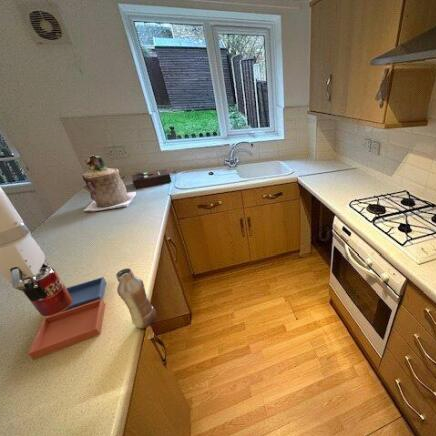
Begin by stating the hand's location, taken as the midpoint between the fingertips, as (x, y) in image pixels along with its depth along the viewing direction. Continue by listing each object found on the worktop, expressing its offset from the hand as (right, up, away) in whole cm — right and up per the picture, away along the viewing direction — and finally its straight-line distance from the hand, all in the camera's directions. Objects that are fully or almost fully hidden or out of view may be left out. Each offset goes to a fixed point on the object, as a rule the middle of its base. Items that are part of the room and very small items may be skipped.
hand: (44, 288), depth 65 cm
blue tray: (-6, -9, +19) cm, 22 cm away
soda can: (0, -6, +4) cm, 7 cm away
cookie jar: (-50, +29, +92) cm, 109 cm away
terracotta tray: (+1, -15, +8) cm, 17 cm away
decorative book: (-43, +48, +125) cm, 141 cm away
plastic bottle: (+22, -13, +9) cm, 28 cm away
